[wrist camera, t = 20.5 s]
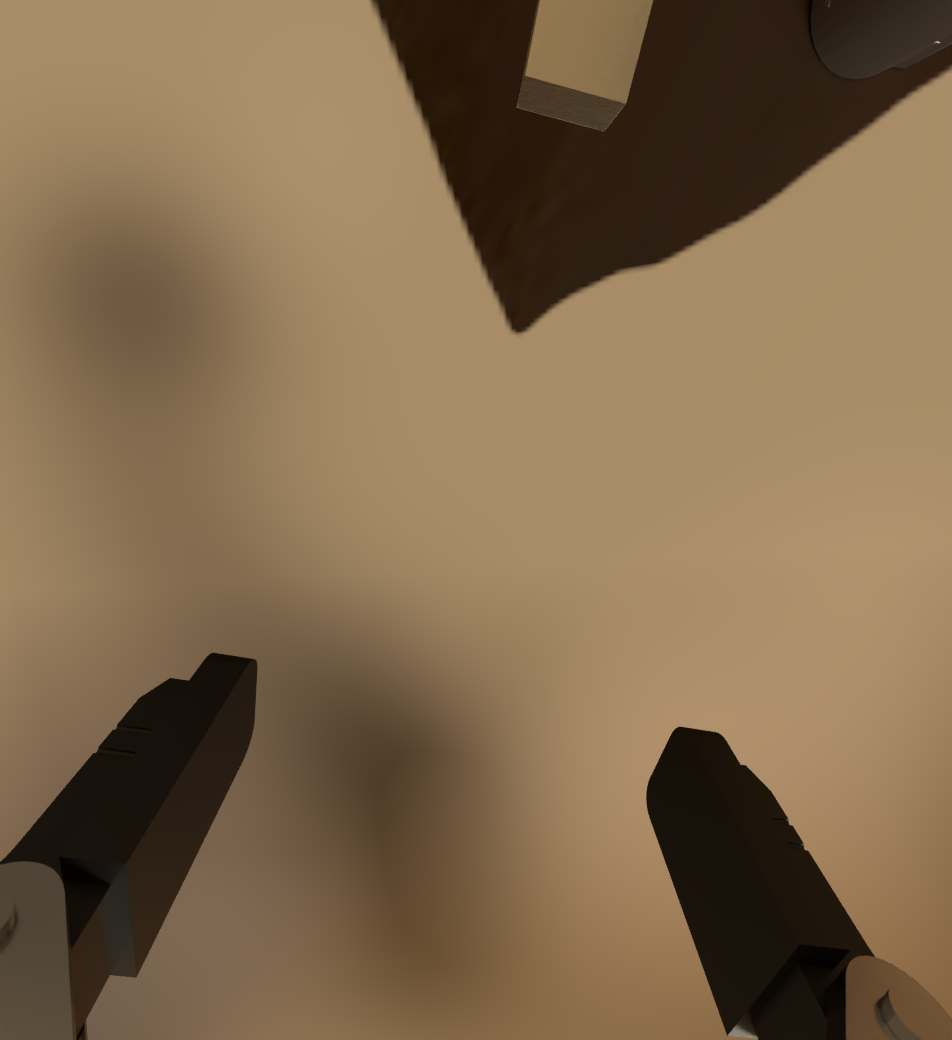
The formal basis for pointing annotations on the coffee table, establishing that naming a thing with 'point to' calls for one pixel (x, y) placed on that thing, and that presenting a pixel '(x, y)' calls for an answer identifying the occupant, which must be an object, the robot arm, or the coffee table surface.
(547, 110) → the saucepan
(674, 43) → the coffee table surface
